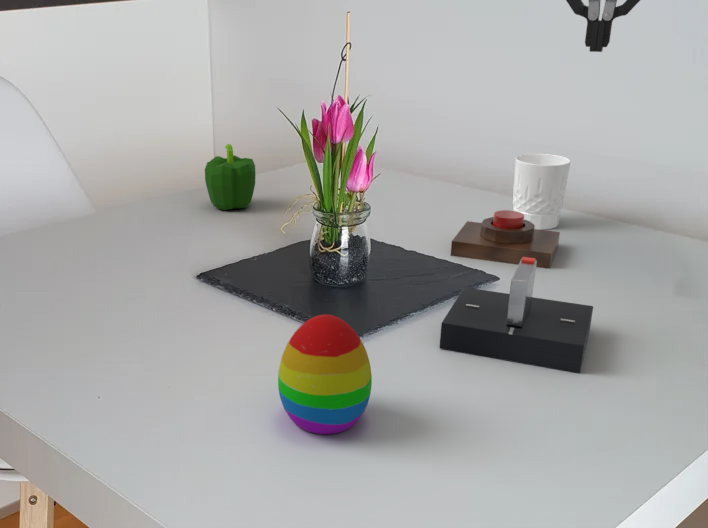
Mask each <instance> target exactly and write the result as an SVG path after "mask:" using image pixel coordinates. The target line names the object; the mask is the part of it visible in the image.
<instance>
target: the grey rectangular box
mask: <svg viewBox="0 0 708 528" xmlns="http://www.w3.org/2000/svg"><path fill="white" fill-rule="evenodd" d="M536 263H537V260H535V258H529V257H523V258H522V259H521V261H520V263H519V265H517V267H516V269H515V271H514V274H513V275H512V277H511V279H510V286H509V294H510V295H509V304H508V312H507V321H506V324H507V325H513V326H519V327H522V325H523V323H524V320H525V318H526V315H527V313H528V310H529V308H530V305H531V303H532V297H533V295H534V286H535V277H536V270H537V267H536Z"/></svg>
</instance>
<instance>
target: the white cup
mask: <svg viewBox="0 0 708 528" xmlns="http://www.w3.org/2000/svg"><path fill="white" fill-rule="evenodd" d="M514 158H515V159H514V172H513V173H514V174H513V188H512V195H513V196H512V206H513V207H512V211H516V212H520V213H522V214H524V220H527V221H530V222H531V223H533V224H534V225H535V228H534V229H538V230H551V229H556V228H557V227H558V226H559V222H560V218H561V213H562V211H561V210H562V208H563V205H564V199H565V195H566V190H567V186H568V184H567V183H568V179H569V174H570V173H569V172H570V168H571V163H572V160H571V159H570V158H568V157H565V156H562V155H558V154H549V153H524V154H519V155H517V156H515V157H514Z"/></svg>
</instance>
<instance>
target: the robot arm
mask: <svg viewBox="0 0 708 528" xmlns="http://www.w3.org/2000/svg"><path fill="white" fill-rule="evenodd" d="M565 1H566V3H567V4H568V6H569V8H570V9H571V10H572V12H573V13H574V14H575V15H577V16H580V17H582V18H585V20H586V22H587V23H586V31H585V39H584V45H585V47H586V48H589V52H591V53H603V49H604V48H607V47H608V45H609V44H610V41H611V35H612V28H613V21H614V20H615V19H616V18H620V17H624V16H627V15H628V14H629V13H630V12H631V11H632V10H633V9H634V8H635V7H636V6H637V4H639V2H641V0H625V1H624V3H623V4H621V5H617V3H618V0H605V1H604V6H603V11H602V15H601V0H588V5H586V4H584V2H583V0H565ZM600 15H601V19H600Z"/></svg>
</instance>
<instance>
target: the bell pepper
mask: <svg viewBox="0 0 708 528" xmlns="http://www.w3.org/2000/svg"><path fill="white" fill-rule="evenodd" d="M224 148H225V149H226V158H224V157H223V156H218V155H216V156H214V157H213V158H212V159H210V161H207V162H206V165H205V167H204V180H205V186H206V190H207V193H208V196H209V197H208V198H209V200H210V203H211V204H212V206H213V207H214V208H216V209H218V210H224V211H228V210H232V209H246V208H248V207H249V206H250V204H251V202H252V199H253V195H254V192H255V191H254V190H255V187H256V163H255V162H254V159H253V158H249V157H242V158H241V157H239V156H238V155H234V150H233V145H232V144H230V143H228V144H226V145H225V147H224Z"/></svg>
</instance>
